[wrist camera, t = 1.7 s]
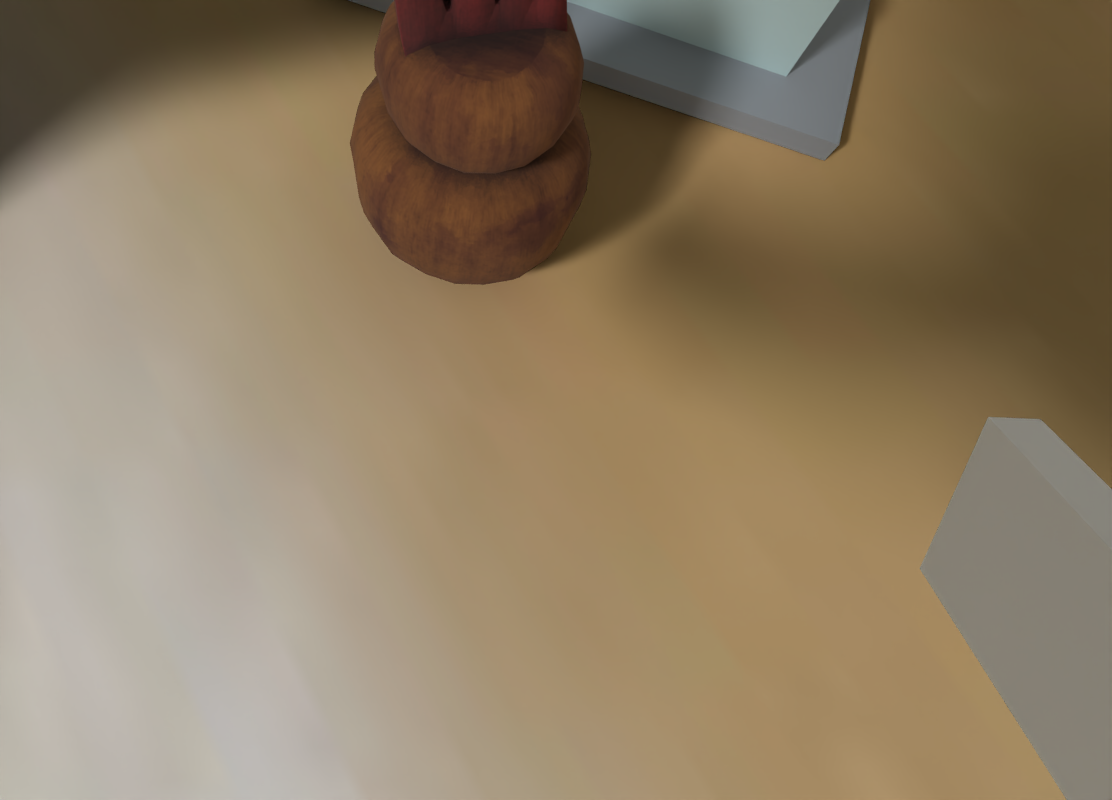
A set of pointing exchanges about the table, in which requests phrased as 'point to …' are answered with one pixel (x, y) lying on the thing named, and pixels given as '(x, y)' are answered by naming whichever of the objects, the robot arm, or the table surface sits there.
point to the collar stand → (728, 61)
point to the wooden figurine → (473, 136)
